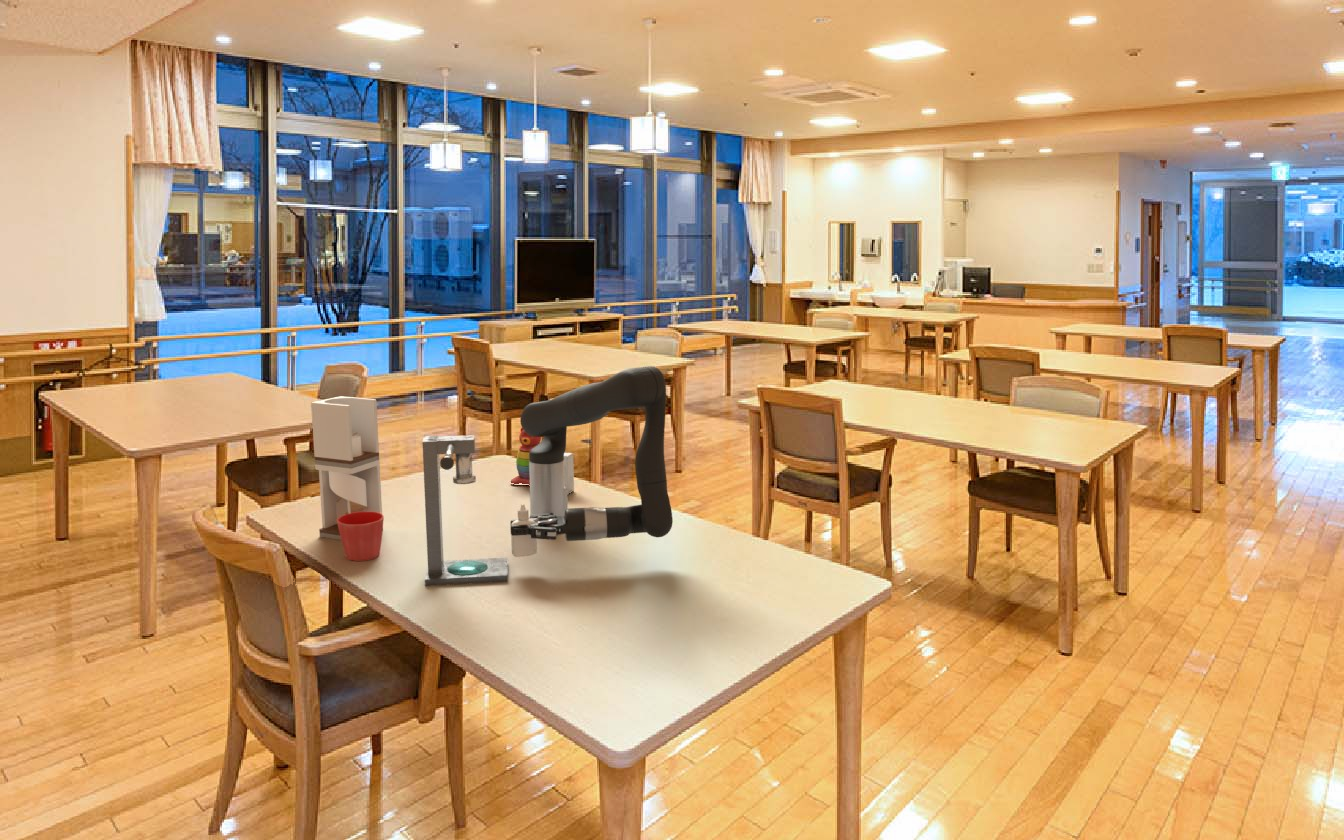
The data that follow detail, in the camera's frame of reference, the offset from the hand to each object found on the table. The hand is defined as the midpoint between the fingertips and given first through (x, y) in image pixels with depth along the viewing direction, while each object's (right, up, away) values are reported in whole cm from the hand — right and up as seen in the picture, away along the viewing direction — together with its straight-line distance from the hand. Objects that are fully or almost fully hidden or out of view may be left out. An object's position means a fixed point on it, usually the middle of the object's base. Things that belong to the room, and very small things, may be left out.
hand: (510, 527), depth 216 cm
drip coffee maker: (-46, -5, +29) cm, 55 cm away
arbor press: (-9, -12, -6) cm, 16 cm away
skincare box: (+4, +2, +71) cm, 71 cm away
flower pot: (-38, -8, +12) cm, 41 cm away
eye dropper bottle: (+3, -7, +2) cm, 7 cm away
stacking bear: (-8, +5, +81) cm, 82 cm away
